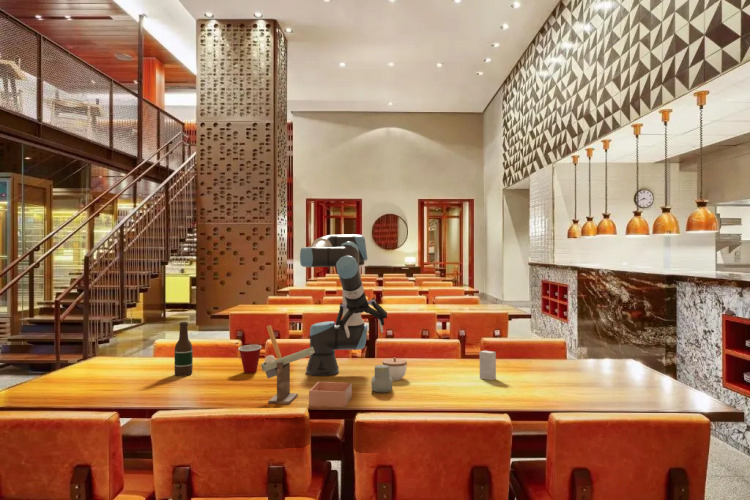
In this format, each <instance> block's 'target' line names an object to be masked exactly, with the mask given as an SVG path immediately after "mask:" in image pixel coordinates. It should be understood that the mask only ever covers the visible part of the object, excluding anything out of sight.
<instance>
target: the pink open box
mask: <svg viewBox="0 0 750 500" xmlns="http://www.w3.org/2000/svg"><path fill="white" fill-rule="evenodd" d="M352 397H353V383H352V382H343V381H342V382H339V381H337V382H335V381H317V382H316V383H315V384H314V385H313V386H312V387H310V389H309V390H308V406H309V407H321V406H327V407H329V408H346V407H347V406H348V404H349V402H350V401H351V399H352ZM327 407H326V408H327Z"/></svg>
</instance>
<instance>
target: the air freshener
mask: <svg viewBox="0 0 750 500" xmlns="http://www.w3.org/2000/svg"><path fill="white" fill-rule="evenodd" d="M370 389H371V391H373V392H375V393H380V394H381V393H389V392H391V391H393V380H392V377H390V376H389V366H387V365H383V364H379V365H375V366H374V376H372V377H371V388H370Z"/></svg>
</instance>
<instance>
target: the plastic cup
mask: <svg viewBox="0 0 750 500" xmlns="http://www.w3.org/2000/svg"><path fill="white" fill-rule="evenodd" d="M262 348H263V347H262V345H261V344H247V345H241V346H240V347H238V351H239V354H240V358H241V359H240V360H241V364H242V367H243V368H242V369H243V372H244V373H245V374H254V373H257V371H258V366H259V361H260V355H261V354H260V353H261V350H262Z"/></svg>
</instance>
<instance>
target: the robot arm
mask: <svg viewBox="0 0 750 500" xmlns="http://www.w3.org/2000/svg"><path fill="white" fill-rule="evenodd" d="M365 239H366V238H365V236H364V235H362V234H354V233H352V234H328V235H324V236H321V237H317V238H316V239H315V240H313V241H312V243H311V245H310V246H307V247H304V246H302V247H301V248H300V251H299V252H300V253H299V262H300V266H301V267H302V268H326V267H328V268H336V272H337V275H338V278H339V281H340V285H341V289H342V302H341V303H340V302H339V310H338V313H337V317H336V318H335V319H336V320H335V321H333V320H331V321H330V320H329V321H323V322H322V321H321V322H315V323H314V324H311V326H310V328H309V348H311V347H313V348H314V351H315V353H313V354H312V355H310V356H309V359H308V360H307V361H308V362H307V365H306V368H305V373H306V374H307V375H310V376H315V377H325V376H326V377H327V376H328V377H329V376H333V375H336V374H338V373H339V372H340V371H339V370H340V369H339V368H340V367H339V365H338V361H337V358H336V350H337V351H349V350H350V351H353V350H354V351H357V350H363V349H364V348H365V347H366V342H367V337H368V336H367V335H368V324H366V323H365V320H364V319H363V318H362V314H363V313H366V314H369V315H371V316H373V317H374V318H376V319H377V320H378V325H379V328H380V333H381V334H383V333H384V327H383V326H384V325H385V319H388V312H387V311H386V310H385V309H384V308H383V307H382V306H381V305H380V304H379V303H378V302H377V301H376V298H374V297H372V298H371V299H370V300H368V299H367V298H366V293H365V290H364V289H365V288H364V285H363V282H362V281H363V280H362V267H364V265H365V261H368V253H367V244H366V240H365ZM372 307H373V308H372Z"/></svg>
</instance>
